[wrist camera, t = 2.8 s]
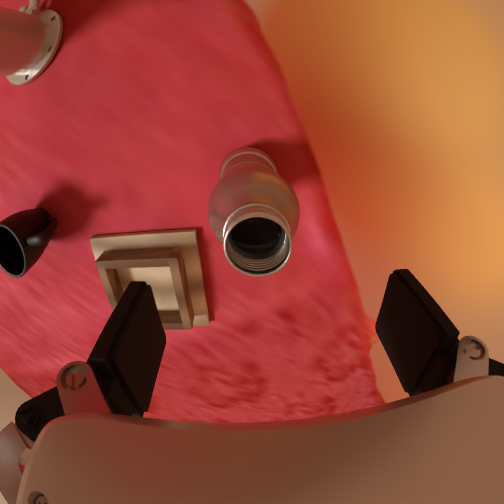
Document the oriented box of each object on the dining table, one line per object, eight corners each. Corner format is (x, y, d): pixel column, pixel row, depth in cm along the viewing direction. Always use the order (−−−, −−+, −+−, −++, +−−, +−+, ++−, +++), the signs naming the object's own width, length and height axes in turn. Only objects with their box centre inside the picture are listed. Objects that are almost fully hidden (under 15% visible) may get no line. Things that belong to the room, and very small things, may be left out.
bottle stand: (92, 235, 35) (79, 248, 31) (196, 228, 35) (191, 241, 31) (120, 320, 42) (113, 336, 38) (209, 321, 42) (207, 338, 39)
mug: (84, 240, 35) (52, 274, 26) (36, 250, 35) (4, 279, 27) (68, 188, 31) (28, 212, 23) (20, 205, 31) (-16, 229, 23)
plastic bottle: (249, 133, 30) (262, 155, 12) (286, 175, 32) (342, 252, 14) (209, 169, 31) (167, 241, 14) (246, 208, 34) (253, 316, 16)
